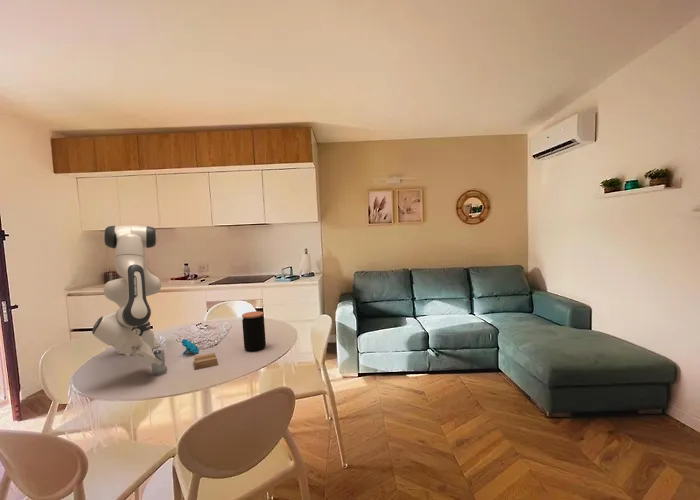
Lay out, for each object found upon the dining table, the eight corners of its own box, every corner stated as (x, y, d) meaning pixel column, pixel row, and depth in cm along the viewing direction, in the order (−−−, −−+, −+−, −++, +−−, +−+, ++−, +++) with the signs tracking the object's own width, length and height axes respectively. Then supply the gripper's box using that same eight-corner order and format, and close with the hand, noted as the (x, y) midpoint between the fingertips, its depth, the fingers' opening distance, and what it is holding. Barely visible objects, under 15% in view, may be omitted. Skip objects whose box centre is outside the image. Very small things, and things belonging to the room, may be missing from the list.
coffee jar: (265, 343, 188) (262, 310, 186) (267, 350, 178) (264, 314, 176) (244, 347, 184) (241, 312, 183) (244, 353, 174) (242, 317, 173)
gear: (195, 353, 174) (180, 339, 174) (187, 362, 173) (171, 349, 173) (203, 348, 185) (189, 336, 185) (195, 357, 184) (181, 344, 184)
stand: (193, 362, 166) (192, 356, 166) (216, 358, 170) (215, 352, 170) (194, 370, 157) (193, 363, 157) (218, 365, 161) (217, 358, 161)
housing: (151, 371, 158) (149, 350, 157) (167, 368, 160) (165, 347, 159) (150, 376, 152) (148, 354, 151) (166, 373, 155) (164, 351, 154)
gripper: (139, 344, 143) (168, 361, 149) (135, 333, 159) (161, 349, 165) (127, 357, 140) (157, 374, 147) (124, 345, 157) (151, 361, 163)
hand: (159, 361), depth 156 cm, fingers closed on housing, 5 cm apart
